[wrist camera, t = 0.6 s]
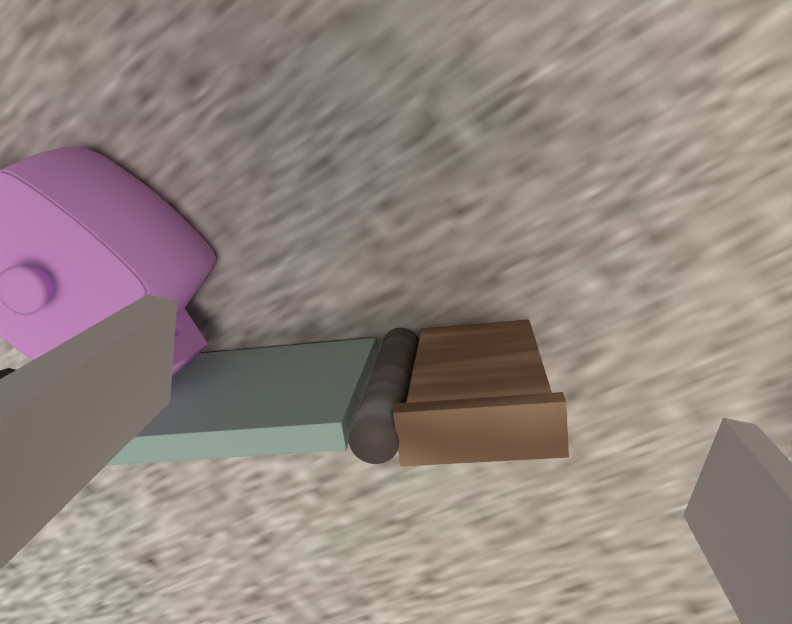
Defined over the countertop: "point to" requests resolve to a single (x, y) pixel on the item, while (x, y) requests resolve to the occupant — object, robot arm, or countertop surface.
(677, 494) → the countertop surface
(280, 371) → the door
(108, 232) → the teapot
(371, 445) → the doorframe
